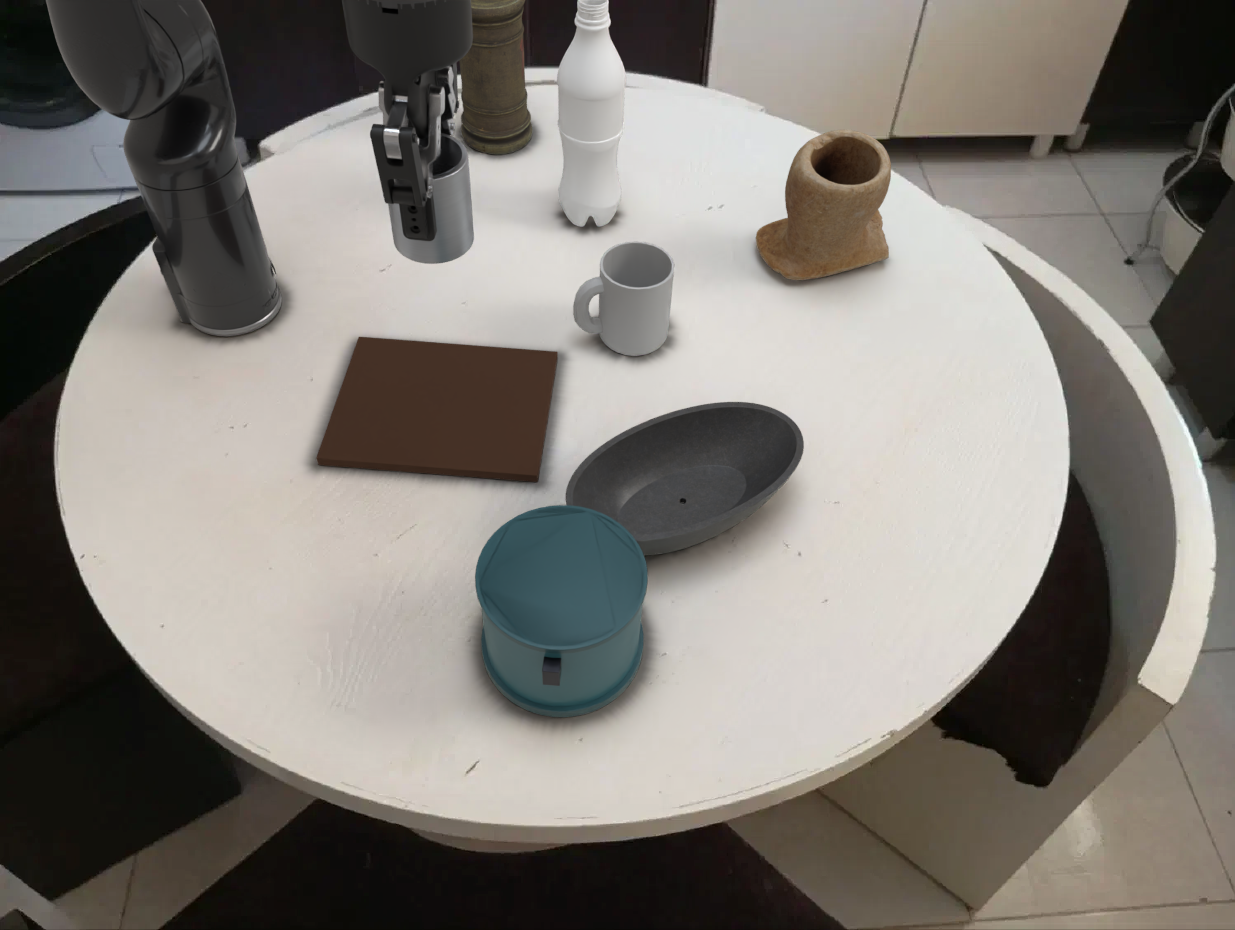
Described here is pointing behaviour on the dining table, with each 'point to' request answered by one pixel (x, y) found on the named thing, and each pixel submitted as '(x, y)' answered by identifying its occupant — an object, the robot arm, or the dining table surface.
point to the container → (495, 79)
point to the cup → (629, 298)
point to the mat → (442, 409)
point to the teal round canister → (561, 609)
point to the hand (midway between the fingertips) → (430, 208)
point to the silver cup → (442, 208)
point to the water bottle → (591, 118)
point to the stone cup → (830, 208)
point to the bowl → (689, 472)
